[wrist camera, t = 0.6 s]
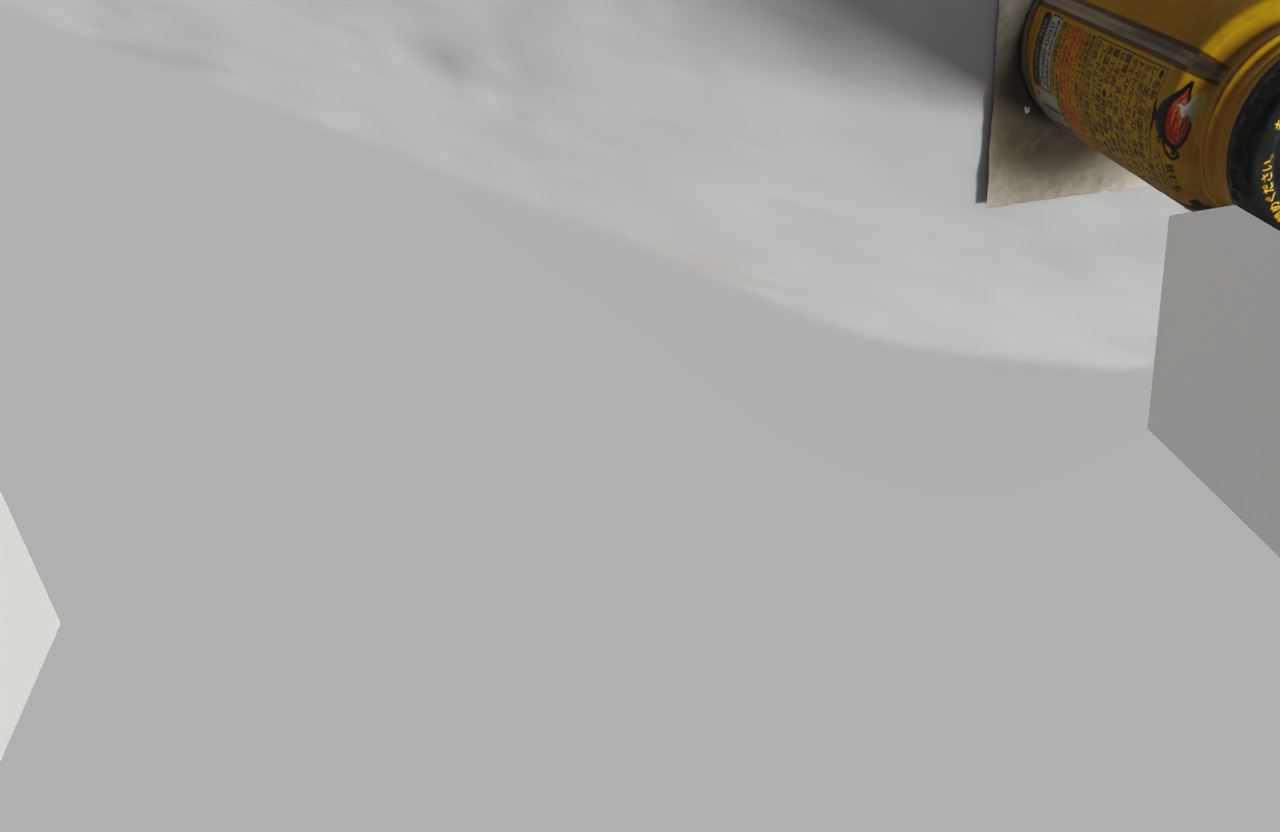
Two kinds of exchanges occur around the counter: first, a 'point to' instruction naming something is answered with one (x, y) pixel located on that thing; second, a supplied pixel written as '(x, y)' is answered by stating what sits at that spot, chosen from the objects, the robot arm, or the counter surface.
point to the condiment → (1138, 101)
